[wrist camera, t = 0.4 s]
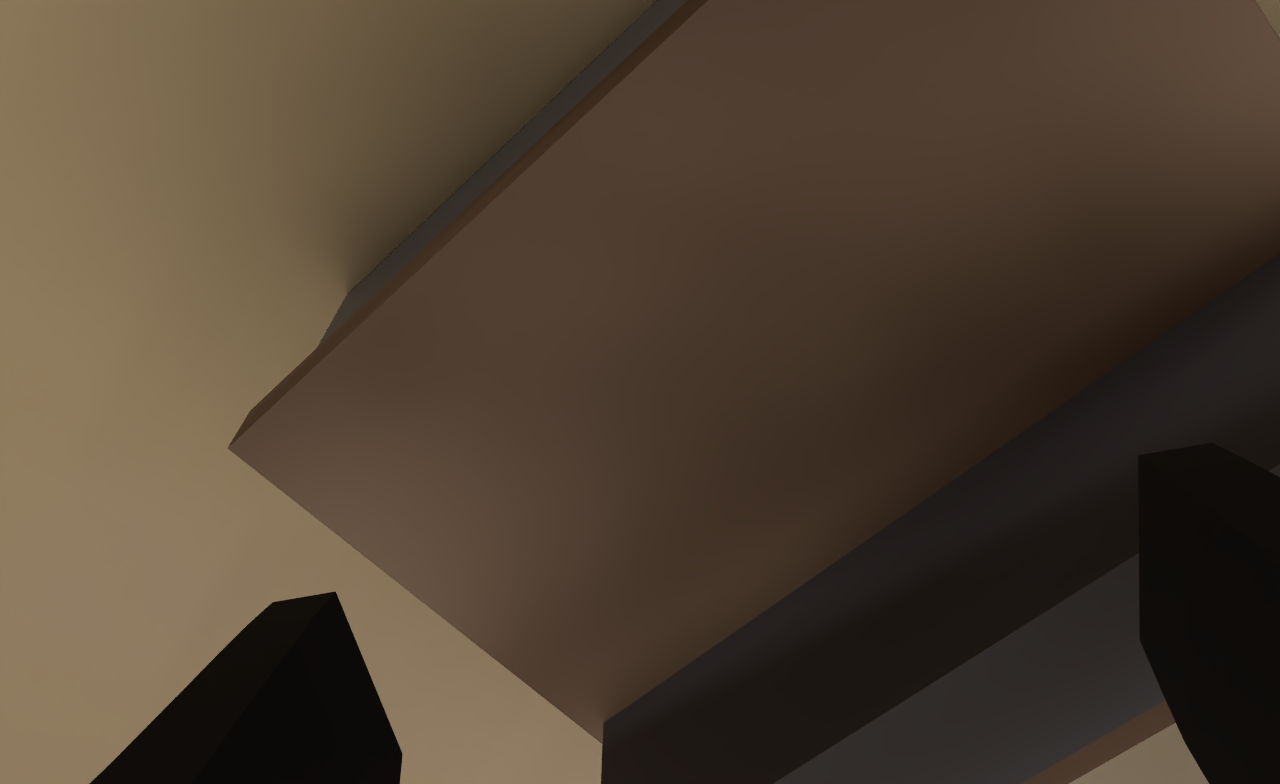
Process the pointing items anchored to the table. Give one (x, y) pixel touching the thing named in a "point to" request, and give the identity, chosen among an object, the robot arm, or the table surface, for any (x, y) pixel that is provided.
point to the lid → (824, 383)
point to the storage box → (505, 157)
